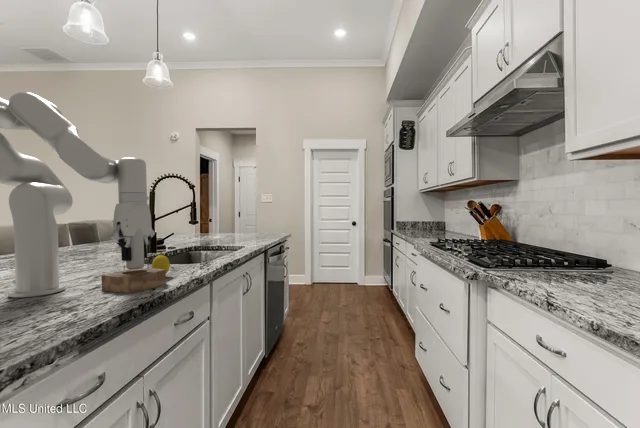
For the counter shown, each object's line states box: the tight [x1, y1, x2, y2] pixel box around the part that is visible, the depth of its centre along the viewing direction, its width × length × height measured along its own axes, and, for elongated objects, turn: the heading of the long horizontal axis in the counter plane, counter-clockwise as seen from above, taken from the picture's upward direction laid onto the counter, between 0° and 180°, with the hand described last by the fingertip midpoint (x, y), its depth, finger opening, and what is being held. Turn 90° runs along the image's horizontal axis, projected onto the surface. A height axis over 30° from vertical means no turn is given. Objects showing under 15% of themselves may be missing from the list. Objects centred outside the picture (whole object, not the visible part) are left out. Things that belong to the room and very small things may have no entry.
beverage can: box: [125, 229, 145, 270], centre depth 99 cm, size 5×5×12 cm
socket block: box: [101, 267, 167, 294], centre depth 99 cm, size 13×13×4 cm
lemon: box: [151, 253, 171, 274], centre depth 113 cm, size 6×6×8 cm
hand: (134, 258), depth 99 cm, fingers closed on beverage can, 4 cm apart
